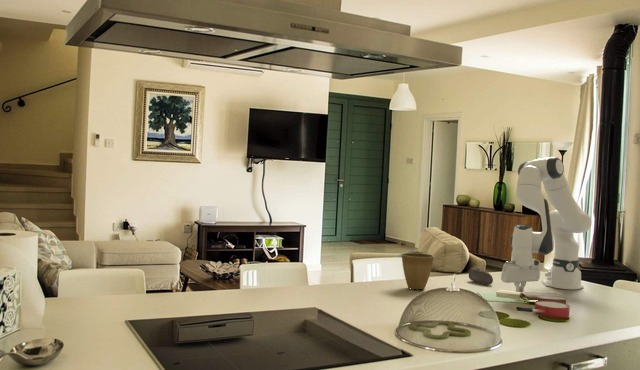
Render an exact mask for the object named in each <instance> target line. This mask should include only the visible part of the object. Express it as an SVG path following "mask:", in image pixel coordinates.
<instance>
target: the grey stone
mask: <svg viewBox="0 0 640 370" xmlns="http://www.w3.org/2000/svg"><path fill="white" fill-rule="evenodd" d="M468 270H469V271H468V278H469V280H470V281H472V282H474V283H477V284H481V285H485V286H486V285H487V286H488V285H492V283H493V282H494V278H493V276H492V274H490V273H489V272H488V271H485V270H483V269H479V268H476V267H471V268H470V269H468Z"/></svg>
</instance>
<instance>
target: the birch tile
mask: <svg viewBox="0 0 640 370" xmlns="http://www.w3.org/2000/svg"><path fill="white" fill-rule="evenodd" d="M495 293H496V296H502V297H509V298H517V299H519V298H520V296H521V292H516V291H512V290H506V289H505V290H504V289H503V290H502V289H498V290H497V291H496V292H495Z"/></svg>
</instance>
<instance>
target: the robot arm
mask: <svg viewBox="0 0 640 370" xmlns="http://www.w3.org/2000/svg"><path fill="white" fill-rule="evenodd" d="M564 167H565V165H564V162H563V161H562V159H560V158H559V157H557V156H550V157H540V158H537V159H534V160H533V159H532V160H529V161H524V162H522V163H520V164H519V166H518V168H517V174H518V177H517V181H516V182H517V183H516V193H515V194H516V199H517V201H518V202H519V204H521V205H522V206H524V207H525V208H528V209H530V210H532V211H534V212H537V213H538V214H539V216H540V219H541V228H542V229H541V230H542V231H534V230H533V227H532V226H531V225H530V224H529V225H528V224H524V223H522V224H521V223H520V224H517V225H514V227H513V233H512V234H511V235H510V244H509V245H510V247H511V248H512V250H511V260H510V261H505V263H504V264H503V266H502V269H501V275H500V279H501V282H502V283H506V284H507V283H508V284H511V283H514V286H515V292H525V291H524V290H525V289H524V288H525V287H526V284H527V283H528V282H530V283H531V282H539V280H540V276H541V268H540V265H541V261H540V260H538V259H536V258H533V254H540V255H543V256H544V255H545V256H547V255H548V254H551V252H553V251H554V258H553V259H552V266H551V267H550V268H549V269H548V271H545V273H544V274H545V275H544V277H545V278H546V279H544V278H543V279H542V280H541V282H542V283H543V284H544V286H545V287H551V288H556V289H563V290H581V289H584V285H582V272H581V270H580V269H579V265H580V263H579V261H580V260H579V249H580V245H579V243H578V242H577V240H576V238H575V237H574V234H582V233H586V232H588V231H590V229H591V226H592V219H591V217H590V215H589V214H588V213H586V212H585V211H584V210H583V209H582V207H580V206H579V203H578V202H576V200H575V198H574V196H573V194H572V191H571V188H570V186H569V184H568V181H567V179H566V176H565V173H564V170H565V168H564ZM542 185H543V188H544V191H545V194H546V197H547V199H546V198H544V196H543V194H542ZM548 202H549V204H550V205H551V206H552V207H553V208H554V209H553V210H550V208H549V204H548Z"/></svg>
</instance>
